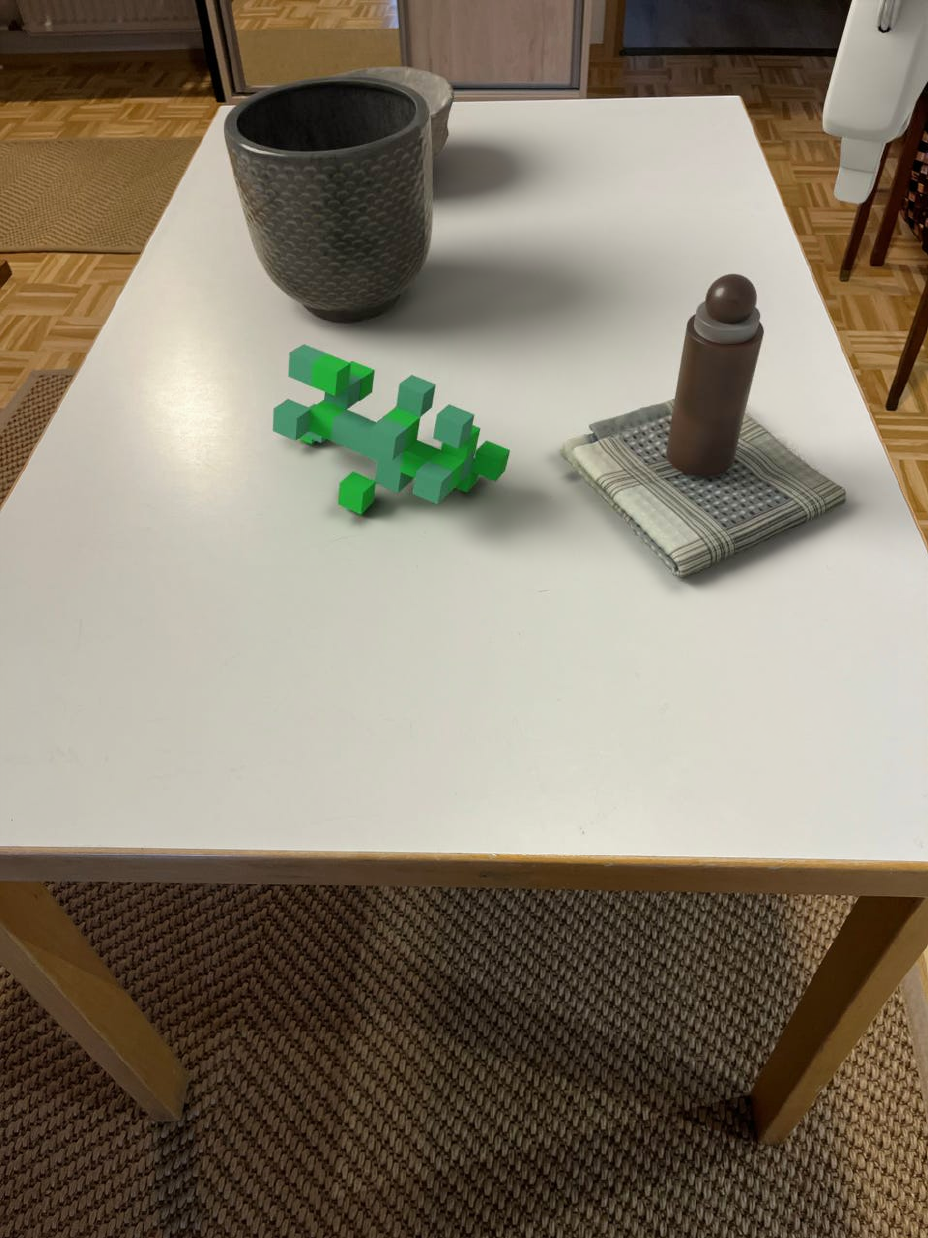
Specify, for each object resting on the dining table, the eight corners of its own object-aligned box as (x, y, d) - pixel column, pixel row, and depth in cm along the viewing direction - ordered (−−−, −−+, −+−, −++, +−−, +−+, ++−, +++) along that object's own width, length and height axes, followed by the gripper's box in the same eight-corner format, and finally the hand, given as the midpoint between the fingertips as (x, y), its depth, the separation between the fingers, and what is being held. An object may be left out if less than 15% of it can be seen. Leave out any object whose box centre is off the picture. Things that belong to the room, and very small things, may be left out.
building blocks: (507, 468, 86) (532, 360, 75) (480, 572, 79) (503, 469, 68) (300, 417, 87) (295, 302, 76) (255, 517, 80) (243, 406, 69)
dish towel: (851, 508, 77) (862, 479, 74) (676, 588, 71) (682, 558, 69) (710, 395, 88) (716, 366, 85) (549, 456, 82) (550, 427, 80)
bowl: (375, 132, 131) (367, 53, 124) (489, 167, 123) (488, 84, 115) (268, 185, 121) (252, 103, 114) (384, 227, 112) (376, 141, 105)
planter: (316, 242, 110) (287, 65, 96) (468, 269, 105) (462, 85, 91) (228, 327, 99) (180, 140, 84) (394, 362, 93) (373, 168, 79)
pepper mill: (735, 439, 79) (776, 260, 67) (732, 481, 75) (775, 300, 63) (669, 431, 80) (698, 254, 68) (662, 472, 76) (692, 293, 64)
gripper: (997, -84, 36) (888, 254, 46) (1057, -179, 48) (959, 109, 58) (834, -97, 38) (764, 230, 49) (929, -185, 50) (856, 94, 60)
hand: (871, 163), depth 53 cm, fingers open, 8 cm apart
